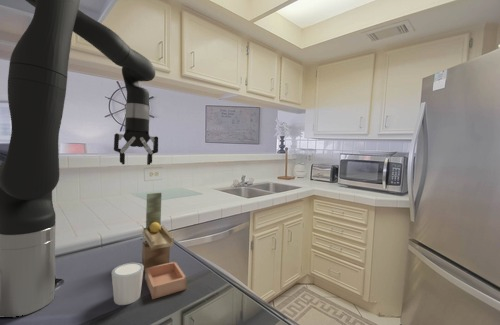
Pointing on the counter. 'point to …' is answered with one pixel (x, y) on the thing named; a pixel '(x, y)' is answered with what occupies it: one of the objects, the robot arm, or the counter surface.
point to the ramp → (154, 215)
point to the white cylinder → (127, 283)
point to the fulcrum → (154, 256)
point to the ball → (154, 227)
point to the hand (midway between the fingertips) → (136, 164)
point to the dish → (165, 279)
